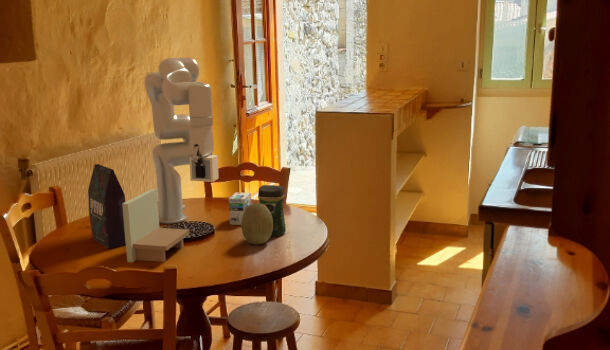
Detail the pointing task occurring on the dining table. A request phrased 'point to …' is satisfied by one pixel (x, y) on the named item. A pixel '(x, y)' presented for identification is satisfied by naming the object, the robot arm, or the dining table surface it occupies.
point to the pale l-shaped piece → (148, 230)
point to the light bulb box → (238, 206)
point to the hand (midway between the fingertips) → (204, 175)
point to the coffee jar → (274, 206)
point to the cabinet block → (206, 169)
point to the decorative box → (106, 207)
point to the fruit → (257, 223)
